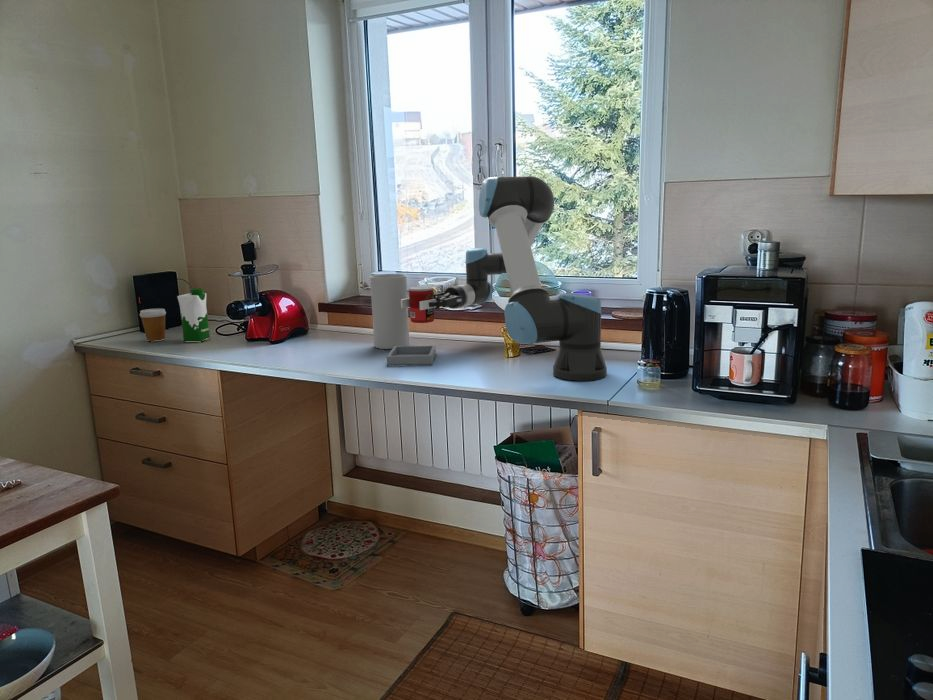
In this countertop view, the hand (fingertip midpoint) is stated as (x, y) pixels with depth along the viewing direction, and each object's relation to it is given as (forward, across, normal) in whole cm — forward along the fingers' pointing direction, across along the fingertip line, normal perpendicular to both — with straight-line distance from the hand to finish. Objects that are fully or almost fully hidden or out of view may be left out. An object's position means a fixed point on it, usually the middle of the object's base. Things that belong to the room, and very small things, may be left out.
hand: (411, 304), depth 221 cm
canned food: (-5, 0, -6) cm, 8 cm away
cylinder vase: (-9, +21, -18) cm, 29 cm away
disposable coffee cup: (+36, +106, -18) cm, 114 cm away
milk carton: (+27, +92, -18) cm, 97 cm away
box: (+1, -1, -18) cm, 18 cm away
